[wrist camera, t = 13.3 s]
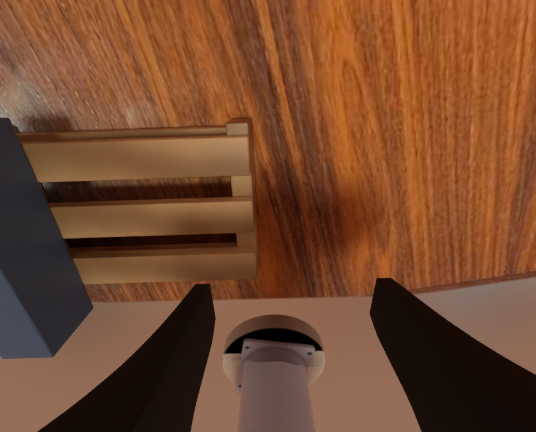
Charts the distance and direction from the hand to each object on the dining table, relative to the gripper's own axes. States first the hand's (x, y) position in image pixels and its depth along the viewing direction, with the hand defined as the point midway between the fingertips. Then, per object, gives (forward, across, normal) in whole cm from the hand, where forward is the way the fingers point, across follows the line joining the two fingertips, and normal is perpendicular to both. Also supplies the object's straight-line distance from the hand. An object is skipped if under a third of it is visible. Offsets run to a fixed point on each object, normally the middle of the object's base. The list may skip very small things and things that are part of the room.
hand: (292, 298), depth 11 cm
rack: (+8, +10, -2) cm, 13 cm away
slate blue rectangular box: (+4, +15, -2) cm, 16 cm away
